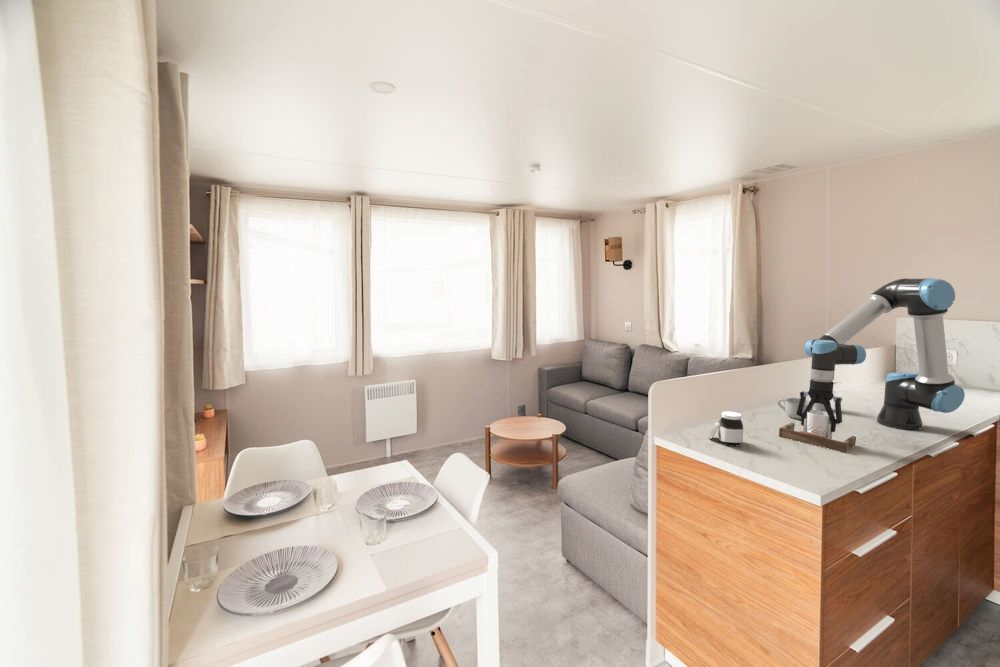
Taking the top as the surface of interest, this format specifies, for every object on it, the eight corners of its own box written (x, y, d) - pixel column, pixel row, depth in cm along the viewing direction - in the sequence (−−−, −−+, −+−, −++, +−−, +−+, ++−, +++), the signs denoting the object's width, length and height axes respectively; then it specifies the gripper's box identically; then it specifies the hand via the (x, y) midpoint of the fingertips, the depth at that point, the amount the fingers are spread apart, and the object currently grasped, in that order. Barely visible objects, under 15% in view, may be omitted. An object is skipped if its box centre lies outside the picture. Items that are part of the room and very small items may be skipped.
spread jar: (744, 448, 177) (746, 418, 176) (713, 446, 179) (714, 416, 177) (734, 437, 189) (736, 409, 187) (704, 435, 191) (706, 408, 189)
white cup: (833, 441, 180) (835, 416, 179) (810, 440, 182) (812, 415, 181) (823, 434, 188) (825, 410, 187) (801, 433, 190) (803, 409, 188)
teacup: (816, 418, 214) (817, 401, 213) (805, 422, 208) (806, 405, 207) (783, 411, 225) (785, 395, 224) (772, 415, 219) (773, 398, 218)
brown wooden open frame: (790, 430, 197) (791, 420, 197) (855, 445, 180) (856, 435, 179) (778, 436, 190) (779, 426, 189) (844, 452, 172) (845, 442, 172)
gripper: (789, 376, 188) (784, 431, 191) (850, 386, 172) (844, 446, 175) (796, 374, 193) (792, 428, 195) (856, 383, 177) (851, 441, 179)
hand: (817, 436), depth 185 cm, fingers closed on white cup, 7 cm apart
